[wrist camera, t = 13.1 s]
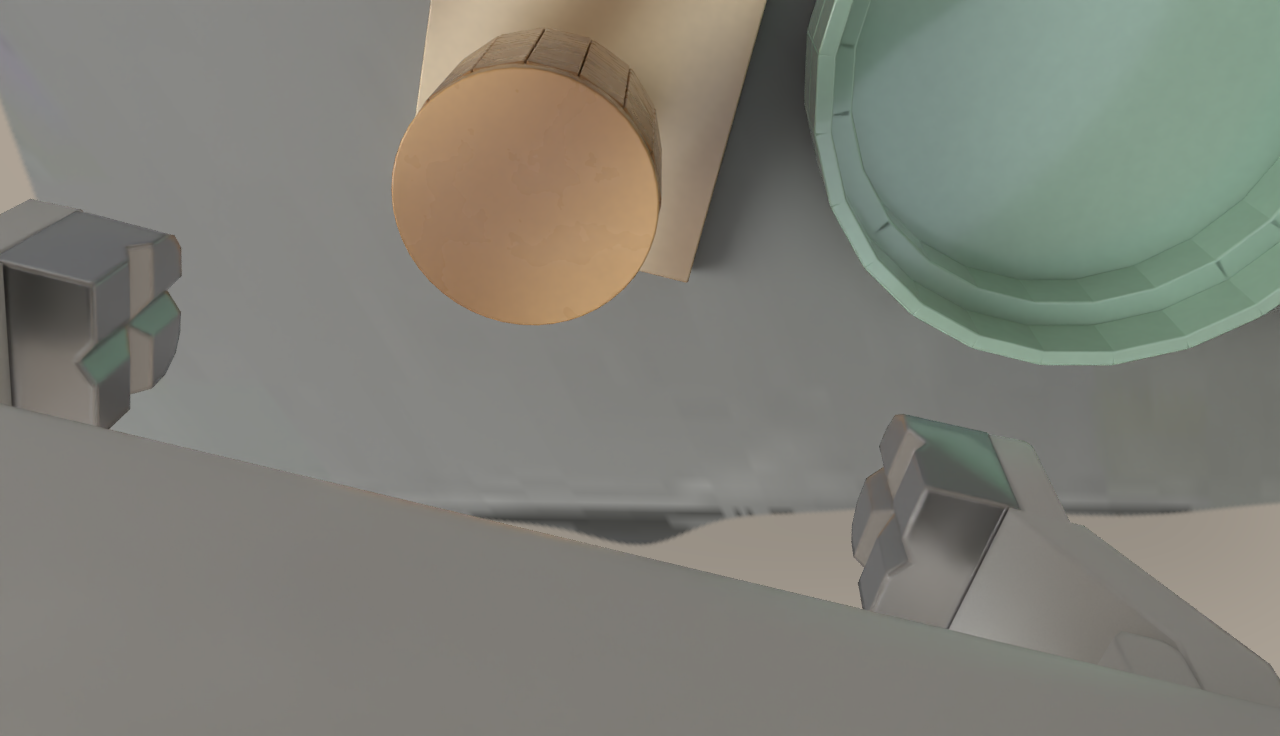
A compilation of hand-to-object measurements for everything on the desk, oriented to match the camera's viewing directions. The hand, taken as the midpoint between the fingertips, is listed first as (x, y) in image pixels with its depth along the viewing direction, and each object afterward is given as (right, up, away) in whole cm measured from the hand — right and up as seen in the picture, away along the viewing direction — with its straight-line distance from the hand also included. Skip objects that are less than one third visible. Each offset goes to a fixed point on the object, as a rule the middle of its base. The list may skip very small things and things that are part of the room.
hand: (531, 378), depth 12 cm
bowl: (+15, +10, +21) cm, 27 cm away
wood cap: (-1, +6, +17) cm, 18 cm away
